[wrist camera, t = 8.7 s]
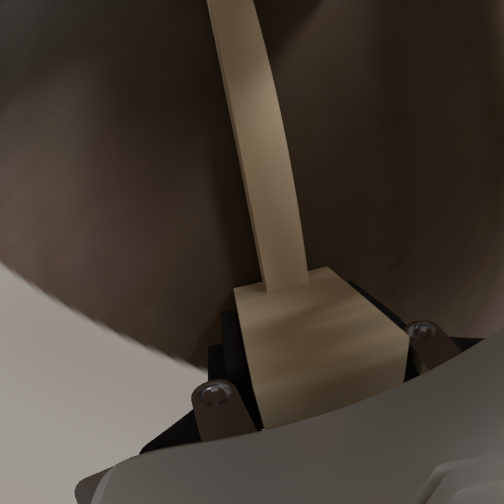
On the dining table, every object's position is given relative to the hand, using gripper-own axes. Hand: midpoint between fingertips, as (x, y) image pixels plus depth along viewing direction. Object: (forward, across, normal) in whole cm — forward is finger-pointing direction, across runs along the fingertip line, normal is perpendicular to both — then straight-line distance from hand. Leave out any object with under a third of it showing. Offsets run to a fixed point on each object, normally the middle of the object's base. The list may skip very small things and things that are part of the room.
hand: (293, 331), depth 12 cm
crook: (+1, -3, -10) cm, 10 cm away
